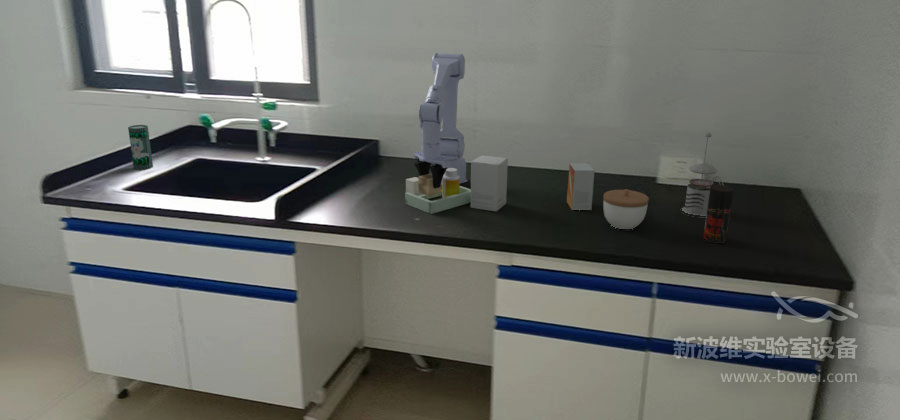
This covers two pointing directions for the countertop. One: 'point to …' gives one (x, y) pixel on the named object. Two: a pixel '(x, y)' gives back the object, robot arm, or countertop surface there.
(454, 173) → the supplement bottle
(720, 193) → the deodorant
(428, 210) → the tray
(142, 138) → the can
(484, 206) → the supplement box
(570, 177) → the small box
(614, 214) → the lidded bowl
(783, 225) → the countertop surface
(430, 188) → the oak block
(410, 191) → the cream box
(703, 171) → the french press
